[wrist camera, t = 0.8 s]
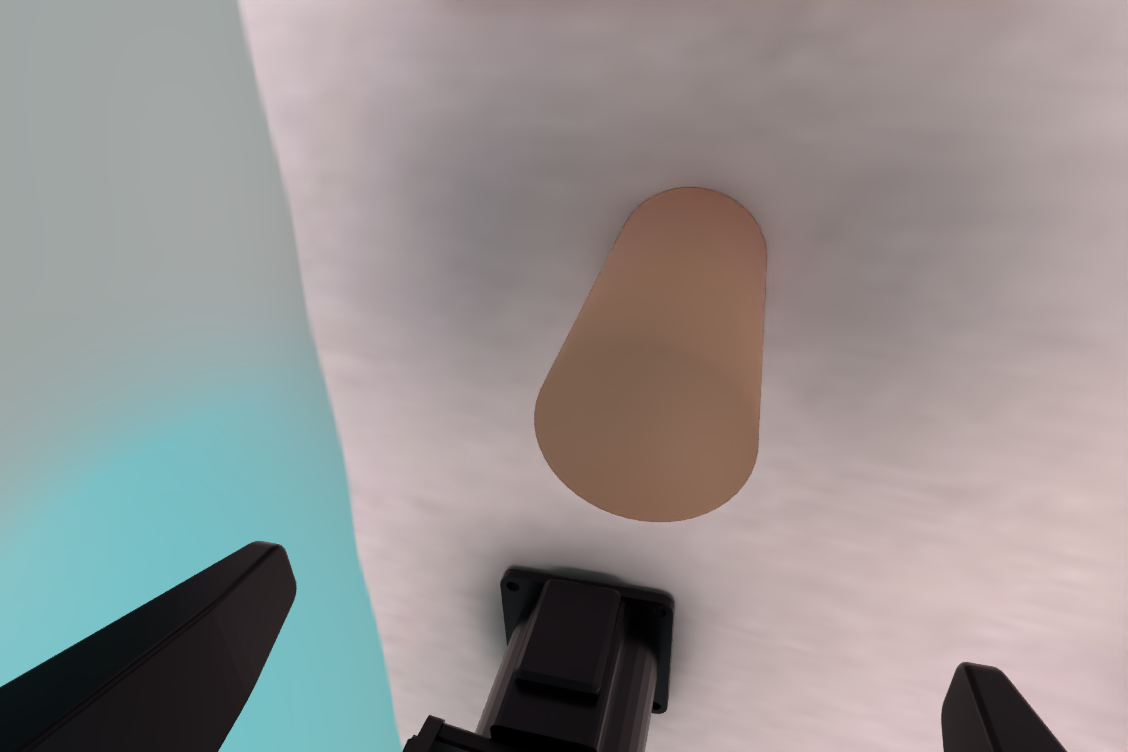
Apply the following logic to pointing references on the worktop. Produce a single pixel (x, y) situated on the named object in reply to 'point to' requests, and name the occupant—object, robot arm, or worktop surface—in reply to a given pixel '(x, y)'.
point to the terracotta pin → (663, 364)
